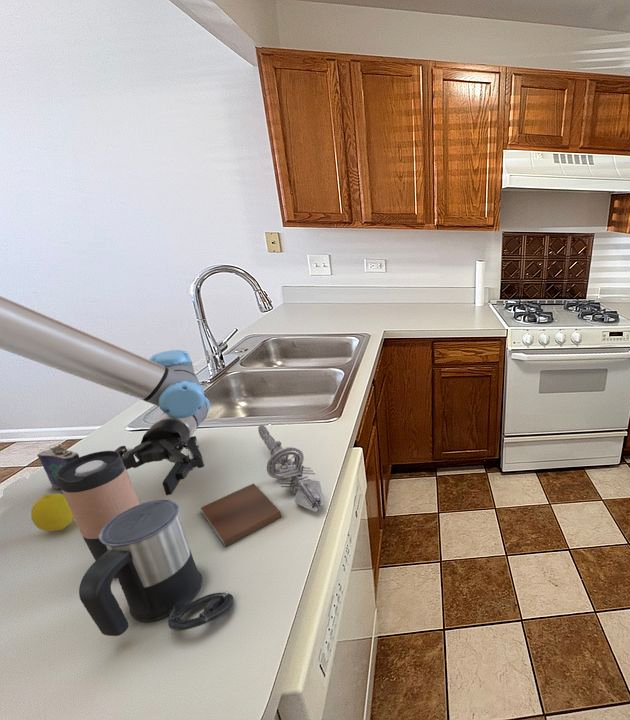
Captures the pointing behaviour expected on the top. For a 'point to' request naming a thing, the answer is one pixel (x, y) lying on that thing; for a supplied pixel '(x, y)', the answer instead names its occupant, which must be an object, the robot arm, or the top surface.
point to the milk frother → (147, 572)
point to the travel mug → (96, 494)
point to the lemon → (51, 512)
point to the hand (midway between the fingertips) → (120, 496)
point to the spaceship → (292, 472)
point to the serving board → (240, 514)
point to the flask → (55, 462)
